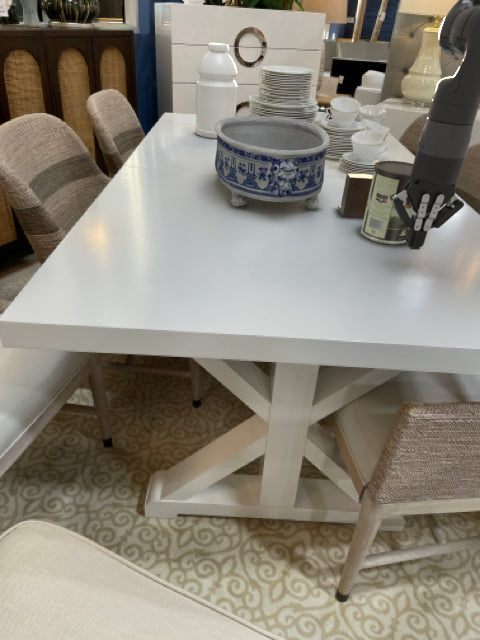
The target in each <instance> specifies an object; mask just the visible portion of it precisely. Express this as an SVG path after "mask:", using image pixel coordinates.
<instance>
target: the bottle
mask: <svg viewBox="0 0 480 640" xmlns="http://www.w3.org/2000/svg"><path fill="white" fill-rule="evenodd" d="M207 50H209V51H208V52H207V53H206V54H205V55H204V57H202V59H201V61H200V62H199V66H198V68H197V73H198V74H199V75H200V78H199V79H198V80H197V81H196V84H195V85H196V86H195V87H196V88H195V89H196V90H195V92H196V93H195V94H196V97H195V98H196V100H195V101H196V103H195V133H196V135H197V136H200V137H201V138H207V139H215V140H217V134H216V132H215V125H216V123H217V122H218V121H219V120H221V119H224V118H228V117H236V115H237V114H236V113H237V99H238V88H239V86H238V84H237V82H236V80H235V78H236V76H237V75H238V70H237V66H236V63H235V62H234V59H233V58H232V56H231V55H230V54H229V51H230V46H229V44H227V43H221V42H210V43H208V45H207Z"/></svg>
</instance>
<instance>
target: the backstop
mask: <svg viewBox="0 0 480 640" xmlns="http://www.w3.org/2000/svg"><path fill="white" fill-rule="evenodd" d="M372 178H373V174H365V173H362V174H361V173H346V177H345V181H344V186H343V192H342V197H341V202H340V205H339V204H338V205H337V211H338V212H339V214H340V216H341V217H342V218H355V219H356V218H357V219H364V215H365V210H366V206H367V201H368V196H369V192H370V187H371V183H372Z"/></svg>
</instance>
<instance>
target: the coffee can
mask: <svg viewBox="0 0 480 640" xmlns="http://www.w3.org/2000/svg"><path fill="white" fill-rule="evenodd" d="M412 167H413V162H412V163H411V162H407V161H400V160H381V161H378V162H375V163H374V165H373V173H372V175H373V178H372V183H371V187H370V192H369V196H368V201H367V206H366V210H365V215H364V218H363V221H362V224H361V228H360V234H361V235H362V236H363V237H365V238H366V239H369V240H370V241H373V242H375V243H379V244H380V243H381V244H385V245H403V244H407V243H406V238H407V234H408V231H409V227H406V226H405V225H404V223H403V222H402V221H401V219H400V218H399V216H398V214H397V212H396V210H395V208H394V206H393V204H392V202H391V200H390V196H391V195H392V194H396V195H397V194H399V193H400V192H402V191H404V188H405V186H406V184H407V183H408V182H409V180H410V175H411V171H412ZM404 207H405V209H406V211H407V213H408V215H409V217H410V218H411V207H412V206H411V205H410V202H409V200H408V198H406V205H404Z"/></svg>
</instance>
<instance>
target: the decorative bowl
mask: <svg viewBox="0 0 480 640" xmlns="http://www.w3.org/2000/svg"><path fill="white" fill-rule="evenodd" d="M215 132H216V134H217V139H216V151H215V152H216V153H215V158H214V159H215V160H214V168H215V171H216V174H217V177H218V179H219V181H220V182H221V183H222V184H223V185H224V186H225V187H227V189H228V190H230V192H231V199H230V201H231V205H232V206H234V207H237V208H238V207H239V208H240V207H244V205H246V204H247V199H246V198H249V199H254V200H259V201H264V202H273V203H292V202H300V201H304V202H303V203H304V207H307V208H308V209H309V210H317V209H318V208H319V204H320V203H319V199H318V194H319V193H321V192H322V189H323V185H324V182H325V168H326V167H325V166H326V156H327V148H328V147H329V146H330V143H331V140H330V136H329V134H328V133H327V131H326V130H325V129H324V128H322V127H321V126H319V125H317V124H314V123H312V122H309V121H306V120H302V119H299V118H298V119H297V118H292V117H283V116H266V115H239V116H238V115H237V116H236V117H228V118H224V119H221V120H219V121H218V122H217V123H216V125H215Z"/></svg>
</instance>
